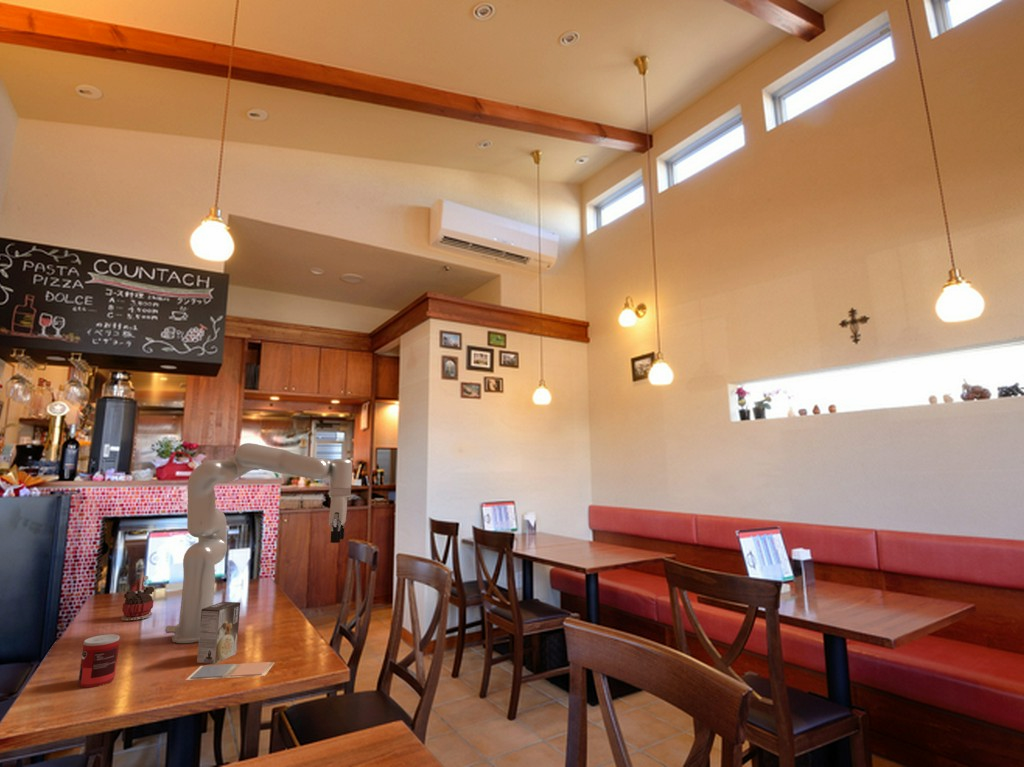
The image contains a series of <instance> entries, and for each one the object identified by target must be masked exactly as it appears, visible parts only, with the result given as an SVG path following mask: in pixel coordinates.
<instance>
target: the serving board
mask: <svg viewBox="0 0 1024 767" xmlns="http://www.w3.org/2000/svg"><path fill="white" fill-rule="evenodd" d="M270 662H271V661H270ZM275 663H276V662H274V661H272V662H271V664H270V665H269V666H268V667H267V669H266V670H265V671H264V673H263V674H262V675H253V676H252V677H264V676H266V675H267V674H268V673H269V671H270V670H271V668H272V667H273V666H274V664H275ZM233 664H234V665H233V667H232V668H231V669H230V670H229V671H228V672H227V673H226V674H225V675H224V676H223V677H216V678H198V679H190V678H191V677H192V676H193V675H194V674H195V673H196V672H197V671H198V670H199V669H200V668H202V667H203V666H204V665H200V666H199V667H198V668H196V670H194V671H193V672H192V673H191V674H190V675H189V676H188V677H187V678H185V681H193V680H209V679H213V680H214V679H230V678H247V677H248V678H249V677H250V678H251V676H234V677H230V675H231V674H232V673H233V672H234V671H235V670H236V669H237V668H238V667H239V666H240V665H241V663H233Z"/></svg>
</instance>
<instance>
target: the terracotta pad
mask: <svg viewBox="0 0 1024 767" xmlns="http://www.w3.org/2000/svg"><path fill="white" fill-rule="evenodd" d="M240 664H241V665H240V666H239V667H238V668H237V669H236V670H235V671H234V672H233V673H232V674H231V675H230V677H232V678H235V677H234V676H250V677H254V676H253V675H262V674H263V673H264V671H265V670H266V669H267V667H268V666H269V665H270V664H271V661H265V662H264V661H263V662H242V663H240Z"/></svg>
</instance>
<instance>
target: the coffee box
mask: <svg viewBox="0 0 1024 767" xmlns="http://www.w3.org/2000/svg"><path fill="white" fill-rule="evenodd" d="M240 612H241V602H240V601H237V602H235V601H221V602H218V603H216V604H213V605H212V606H209V607H206V608H203V609H202V612H201V623H200V634H199V642H198V647H197V657H196V658H197V659H196V663H200V664H201V663H202V664H210V665H217V664H218V663H220V662H222V661H224V660H226V659H228V658H230V657H232V656H234V655H236V654H237V651H238V650H237V649H238V638H239V637H238V636H239V625H240Z"/></svg>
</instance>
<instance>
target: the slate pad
mask: <svg viewBox="0 0 1024 767" xmlns="http://www.w3.org/2000/svg"><path fill="white" fill-rule="evenodd" d="M234 664H235V663H226V664H225V663H224V664H221V663H220V664H206V665H202V666H203V667H202V668H200V669H199V670H198V671H197V672H196V673H195V674H194V675H193V676H192V677H191V678H190V679H196V680H199V679H198V678H214V679H217V678H216V677H223V676H224V675H225V674H226V673H227V672H228V671H229V670H230V669H231V668H232V667H233V665H234Z"/></svg>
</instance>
